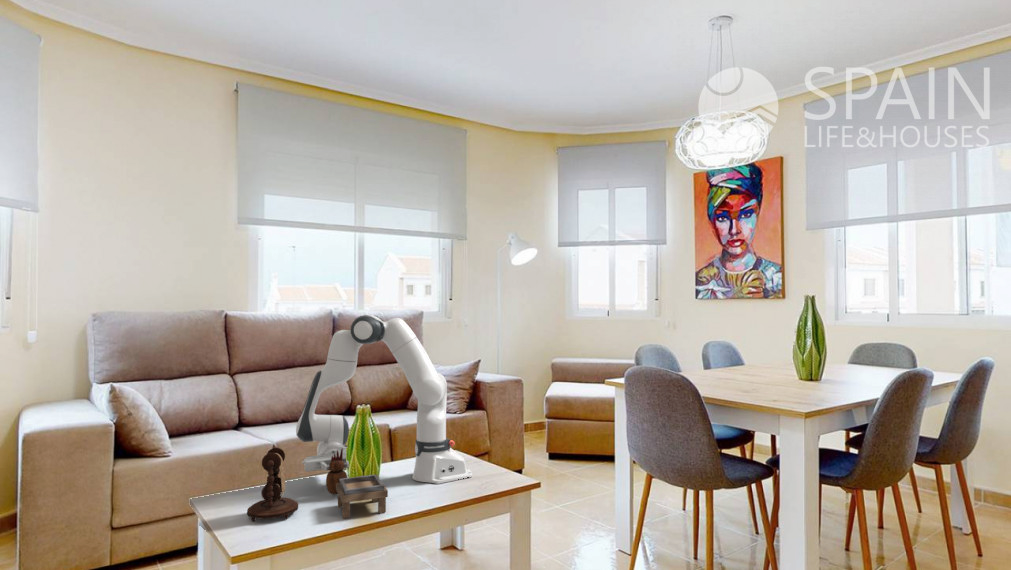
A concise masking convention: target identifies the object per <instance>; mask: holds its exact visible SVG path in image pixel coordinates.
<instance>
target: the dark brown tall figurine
mask: <svg viewBox="0 0 1011 570" xmlns="http://www.w3.org/2000/svg"><path fill="white" fill-rule="evenodd" d="M285 458H286V453H285V451H284V450H283V449H282V448H280V447H272V448H270V449H269V450H268V451H267V453H266V454H265V455H264V456H263V457H262V459H261V466H262V468H263V470H265V471H266V472H267V476H266V484H265V485H264V486H263V488H262V489H261V494H260V495H261V497H262V500H259V501H256V502H255V503H253V504H252V505H250V506H249V507H248V508H247V512H246V513H247V516H248V517H249V518H251V521H252V523H255V521H256V520H270V519H278V518H281V517H284V519H285V520H288V519H289V515H291V514H293V513H295V512H297V511H298V509H299V502H298V501H297V500H295V499H293V498H289V497H282V496H283V495H284V493H285V491H286V478H285V473H284V462H285V461H284V460H285ZM279 473H280V477H279Z"/></svg>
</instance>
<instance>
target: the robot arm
mask: <svg viewBox="0 0 1011 570" xmlns="http://www.w3.org/2000/svg"><path fill="white" fill-rule="evenodd" d="M380 341H381V342H383V343H384V344H385V345H386V346H387V347H388V349H389V350H390V353H391V354H392V356H393V357H394V359H395V360H396V362H397V364H398V366H399V367H400V368H401V370H402V372H403V375H404V376H405V378H406V380H407V382H408V385H409V386H410V388H411V390H412V391H413V394H414V395H415V397H416V399H417V412H416V413H417V414H416V439H415V444H414V445H415V446H414V452H415V462H414V463H415V464H414V469H413V474H412V480H414V481H417V482H422V483H430V484H431V483H432V484H438V485H439V484H443V483H449V482H454V481H458V479H459V480H463V478H464V479H468V478H467V477H469V478H471V476H473V472H472V470H471V469H470V468H467V464H466V460H465V458H464V457H463V456H462V455H461V454H460V453H458V452H457V451H455V450H454V449H453V448H452V447H454V446H455V444H456V443H455V441H454V440H451V439H450V438H447V401H448V399H447V398H448V397H447V396H448V394H447V393H448V384H447V383H448V382H447V380H446V377H445V376H444V375H443V374H442V373H440V372H437V370H436V368H435V366H434V365H433V362H432V361H431V359H430V357H429V354H428V352H427V351H426V349H425V347H424V345H422V343H421V341H420V340H419V338H418V337H417V335H416V333H415V332H414V331H413V330H412V329H411V327H410V326H409V325H408V323H406V322H405V320H404V319H402V318H401V317H393V318H390V319H388V320H387V321H384V320H383V318H381V317H379V316H378V315H375V314H374V315H372V314H363V315H360V316H358V317H357V318H355V319H354V320H353V321H352V323H351V325H350V329H348V330H347V329H341V330H337V331H336V332H334V334H333V336H332V338H331V341H330V343H329V347H328V353H327V356H326V357H327V359H326V362H325V365H324V366H323V368H322V369H321V370H318V371H317V372H316V373H315V375H314V377H313V380H312V382H311V385H310V387H309V390H308V393H307V397H306V400H305V403H304V406H303V409H302V412H301V414H300V417H299V419H298V421H297V424H296V428H295V432H296V437H297V438H298V439H299V440H300V441H301V442H303V443H307V442H319V443H318V444H317V447H316V454H317V455H310V456H307V457H305V458H304V460H302V462H301V463H302V464H303V465H304V468H303V469H304V471H305V472H306V473H307V472H315V471H330V468H329V467H330V466H329V464H330V462H331V458H332V456H333V458H334V453H335V455H336V456H337V450H338V453H339V457H340V453H341V450H342V448H343V458H342V461H343V462H344V469H348V468H350V466H349V461H348V460H347V462H346V448H347V446H348V445H346V444H347V442H348V440H349V433H350V427H349V421H348V420H347V418H345V416H344V415H339V414H316V413H315V411H316V408H317V405H318V403H319V399H320V396H321V394H322V393H323V392H324V391H325V390H326V389H328V388H330V387H331V388H332V387H334V386H337V385H341V384H343V383H346V382H347V381H349V380H350V379H352V377H354V375H355V373H356V370H357V365H358V357H359V351H360V348H362V346H363V345H371V344H375V343H376V342H380Z"/></svg>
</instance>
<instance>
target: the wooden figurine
mask: <svg viewBox="0 0 1011 570" xmlns="http://www.w3.org/2000/svg"><path fill="white" fill-rule="evenodd" d="M342 458H343V448H342V450H341V453H340V457H339V453H338V450H337V456H336V455H335V453H334V458H333V456H332V458H331V462H330V464H329V466H330V467H329V468H330V470H329V472H328V473H327V474H326V479H325V483H326V484H325V485H326V489H327V491H328V493H329V494H331V495H337V496H338V493H337V491H336V483H339V479H343V478H348V475H347V472H346V471H345V470H344V469H345V468H344V462H343V461H342Z"/></svg>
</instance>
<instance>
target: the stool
mask: <svg viewBox="0 0 1011 570" xmlns="http://www.w3.org/2000/svg"><path fill="white" fill-rule="evenodd" d="M336 491H337V493H338V494H337V508H341V510H342V512H341V516H342V517H343V518H342V517H341V518H342V519H343V520H347V519H350V518H351V503H352V502H353V503H354V502H359V501H367V500H368V501H369V500H371V503H372V504H373V503H377V512H378V514H379V513H381V514H386V513H385V512H386V511H387V508H386V506H387V505H386V504H387V500H386V499H387V498H388V497H389V491H388V489H387V488H386V486H385V484H384V483H383V481H382V480H381V479H380V477H379V476H378V474H370V475H361V476H353V477H347V478H343V479H339V483H336ZM346 518H347V519H346Z"/></svg>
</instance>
